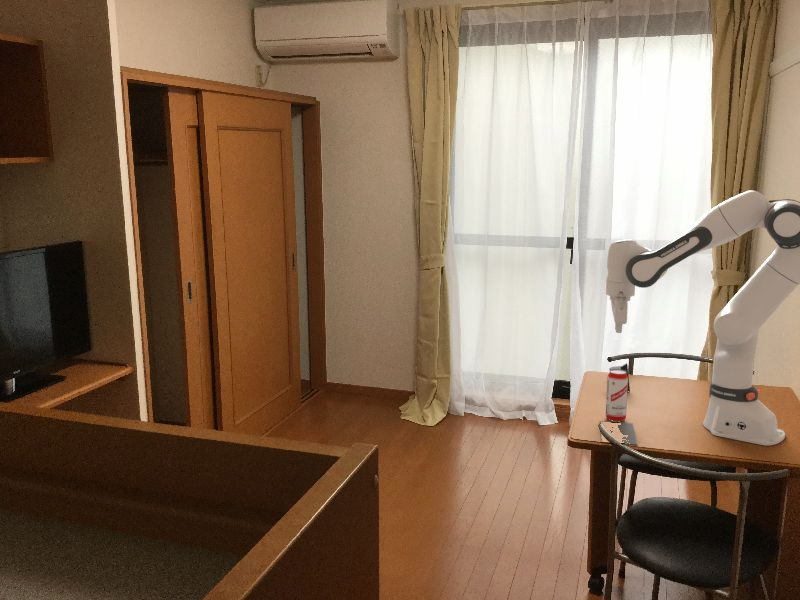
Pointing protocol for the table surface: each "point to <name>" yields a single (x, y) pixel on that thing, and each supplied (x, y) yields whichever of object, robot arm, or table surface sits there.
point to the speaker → (624, 367)
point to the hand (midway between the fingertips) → (618, 331)
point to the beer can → (616, 395)
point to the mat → (627, 433)
